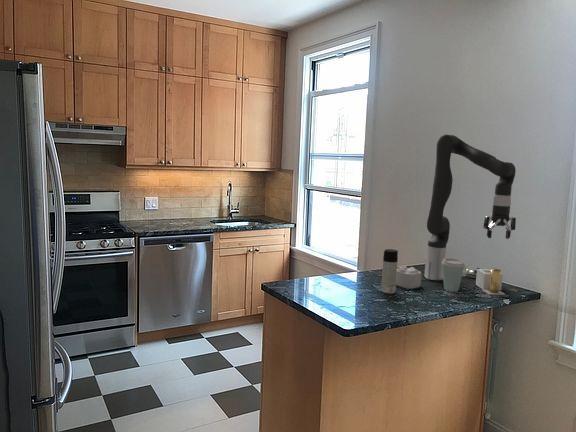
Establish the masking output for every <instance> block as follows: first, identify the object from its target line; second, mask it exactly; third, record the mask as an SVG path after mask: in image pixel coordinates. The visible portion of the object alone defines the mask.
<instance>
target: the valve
mask: <svg viewBox="0 0 576 432" xmlns="http://www.w3.org/2000/svg"><path fill="white" fill-rule="evenodd" d="M464 264H465V266H464V269H463V273H462V277H463V278H464V277H466V276H467V275H469V274H470V275H472V276H474V277H473V280H476V276H477V269H481V268H479V267H477V268H476V269H474V270H471V269H470V268H467V267H468V264H467V263H464Z"/></svg>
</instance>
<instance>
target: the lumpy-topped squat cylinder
mask: <svg viewBox="0 0 576 432" xmlns="http://www.w3.org/2000/svg"><path fill="white" fill-rule="evenodd" d="M421 283H422V271H420V270H418V269H417V268H415V267H414V266H411V267H407V266H405V265H404V266H403V265H402V266H400V267H397V276H396V286H399V287H401V288H405V289H410V288H411V289H416V288H420V287H421ZM411 289H410V290H411Z"/></svg>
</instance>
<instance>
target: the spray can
mask: <svg viewBox="0 0 576 432" xmlns="http://www.w3.org/2000/svg"><path fill="white" fill-rule="evenodd" d="M398 254H399V251H398V250H397V249H390V248H387V249H385V250H383V256H382V259H383V260H382V273H381V284H380V285H381V286H380V287H381V288H380V291H381V293H384V294H394V293H396V289H397V288H396V287H397V285H396V276H397V268H398Z"/></svg>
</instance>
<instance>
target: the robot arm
mask: <svg viewBox="0 0 576 432" xmlns="http://www.w3.org/2000/svg"><path fill="white" fill-rule="evenodd" d="M435 152H436V156H435V157H436V159H435V160H436V161H435V162H436V163H435V169H434V177H433V183H432V193H431V200H430V201H431V202H430V209H429V213H428V217H427V221H426V228H427V231H428V232H429V233H430V234H432V235H431V237H430V238H429V240H428V242H427V253H426V258H425V262H424V263H425V264H424V276H423V277H425V279H427V280H432V281H443V269H442V261H443V259H444V258H446V254H447V244H448V242H449V238H450V230H451V228H450V227H451V224H450V220H449V219H448V217H446V216H444V211H445V207H446V204H447V202H448V200H449V199H450V196H451V193H452V189H453V173H452V170H451V156H452V154H454V155H458V156H462V157H464V158H465V159H467V160H468V161H470V162H471V163H473V164H474V165H476V166H478V167H480V168H482V169H485V170H487V171H488V172H489V173H492V174H493V175H495V176H497V177H499V179H498V182H496V184H495V188H494V197H493V201H492V203H493V204H492V210H491V211H492V213H491V214H492V215H491V216H489V215H485V217H484V221H483V222H484V223H483V229H485V230H486V231H487V232H486V237H487V238H488V239H492V233H493V231H492V230H493V229H494V228H496V227H505V229H506V230H505V239H506V240H508V239H510V238H511V235H512V234H511V233H512V231H515V230H516V227H517V226H516V223H517V222H516V221H517V218H516V217H513V216H511V217H510V215H511V214H510V213H511V205H512V202H511V201H512V197H511V196H512V189H513V187H512V186H513V183H514V181H515V177H516V169H517V168H516V166H515V164H513V162H509V161H508V162H507V161H504V160H503V161H502V160H500V159H498V158H497V157H495V156H494V155H492V154H490V153H488V152H485V151H483V150H481V149H478V148H476V147H473V145H472V146H471V145H470V144H468V143H466V142H465V141H463V140H462V139H461V138H459V137H458V136H456V135H455V134H454V135H453V134H442V135H441V136H439V137H438V139H437V142H436V151H435ZM490 221H491V222H490ZM508 222H510V225H509V223H508Z"/></svg>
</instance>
